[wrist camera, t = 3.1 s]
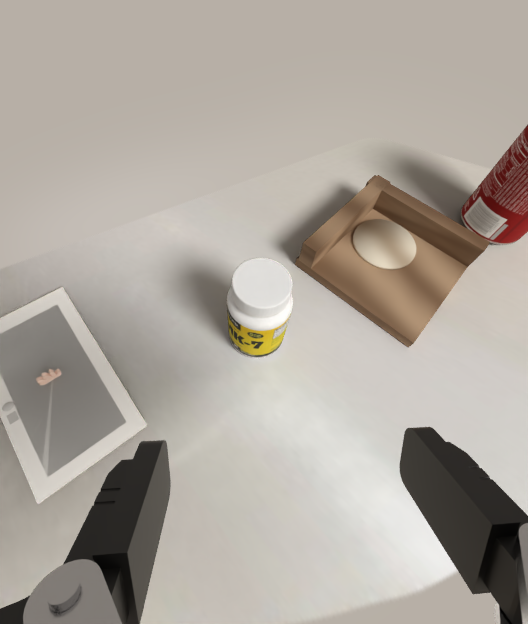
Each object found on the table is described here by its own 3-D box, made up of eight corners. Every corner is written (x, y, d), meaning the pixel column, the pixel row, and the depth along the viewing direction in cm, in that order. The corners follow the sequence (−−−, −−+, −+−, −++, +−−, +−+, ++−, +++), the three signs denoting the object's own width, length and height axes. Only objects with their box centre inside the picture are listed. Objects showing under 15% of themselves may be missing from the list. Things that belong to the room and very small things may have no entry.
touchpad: (68, 293, 29) (56, 279, 27) (151, 427, 24) (143, 422, 22) (-25, 341, 26) (-45, 329, 25) (46, 503, 21) (28, 505, 20)
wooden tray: (408, 347, 28) (428, 330, 25) (295, 264, 32) (300, 241, 29) (468, 262, 33) (491, 240, 30) (364, 199, 37) (376, 173, 34)
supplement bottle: (217, 338, 27) (209, 284, 20) (251, 301, 29) (254, 240, 22) (262, 371, 26) (270, 327, 19) (293, 330, 28) (312, 276, 21)
